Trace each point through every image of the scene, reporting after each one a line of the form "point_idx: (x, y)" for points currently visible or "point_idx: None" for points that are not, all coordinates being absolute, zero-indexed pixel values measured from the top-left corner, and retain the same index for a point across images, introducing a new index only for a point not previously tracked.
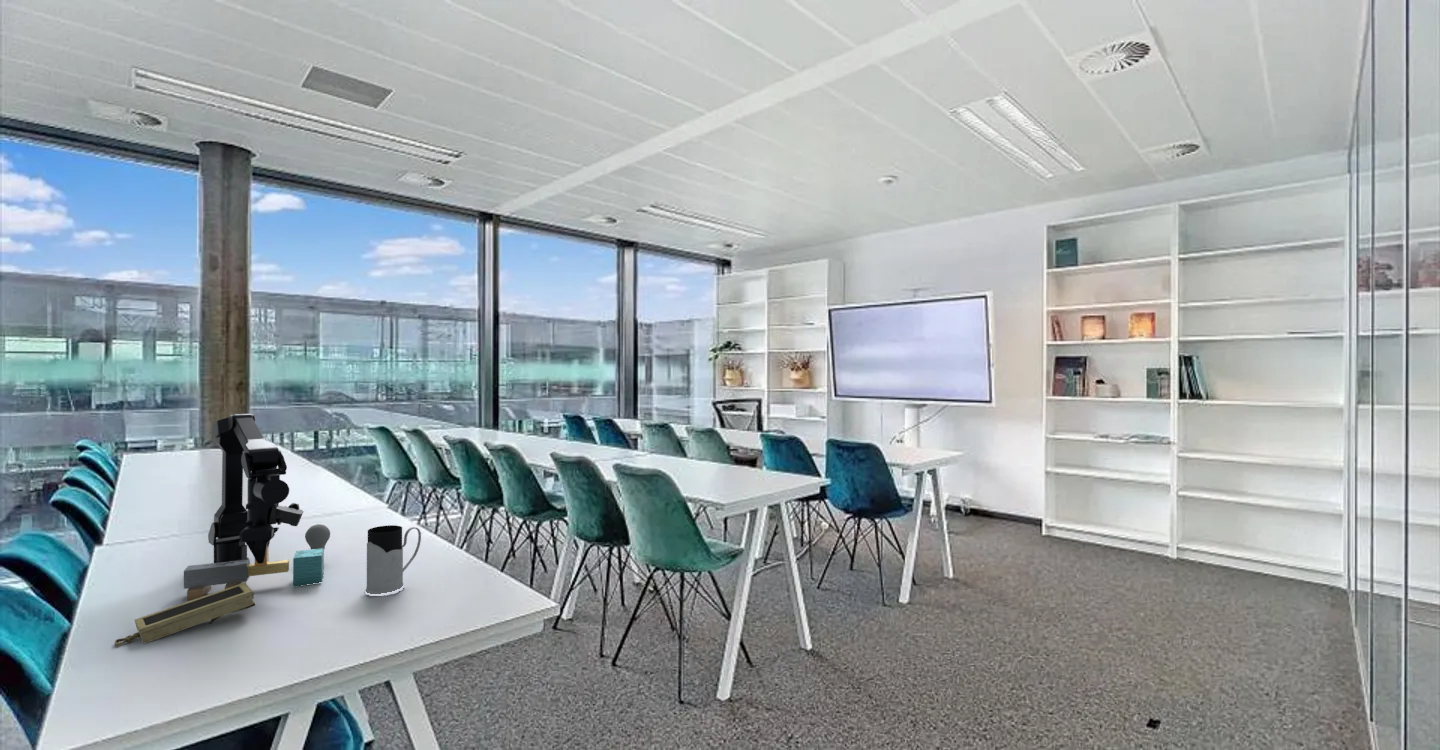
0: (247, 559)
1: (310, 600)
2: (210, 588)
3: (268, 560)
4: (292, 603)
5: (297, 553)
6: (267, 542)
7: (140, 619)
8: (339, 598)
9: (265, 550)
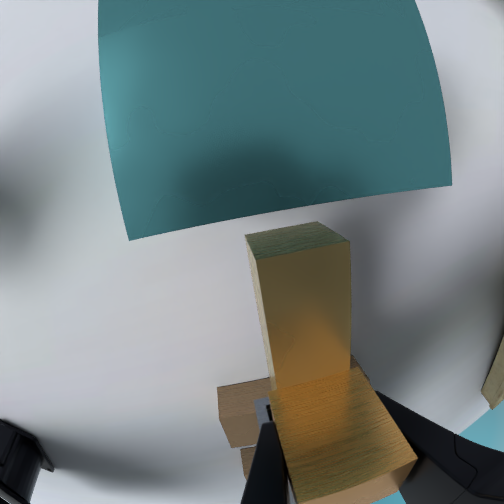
0: None
1: (482, 92)
2: (252, 449)
3: (272, 397)
4: (493, 143)
5: (266, 185)
6: (488, 475)
7: (502, 399)
8: (472, 20)
9: (453, 433)
